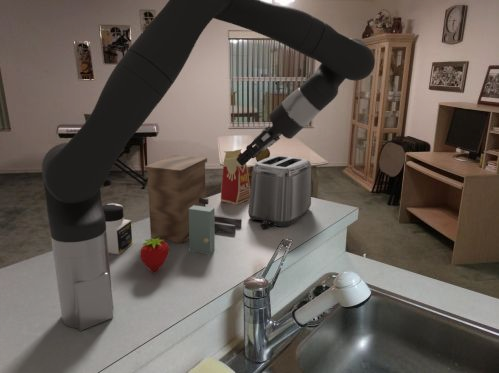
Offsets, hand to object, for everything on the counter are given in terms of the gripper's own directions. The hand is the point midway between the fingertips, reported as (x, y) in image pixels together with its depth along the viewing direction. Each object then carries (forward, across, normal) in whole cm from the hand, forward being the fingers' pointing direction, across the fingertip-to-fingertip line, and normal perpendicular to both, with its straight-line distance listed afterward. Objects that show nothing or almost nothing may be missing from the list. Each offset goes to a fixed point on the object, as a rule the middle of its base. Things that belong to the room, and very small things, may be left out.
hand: (245, 159), depth 90 cm
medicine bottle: (+43, +7, -6) cm, 44 cm away
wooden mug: (+27, -56, +10) cm, 63 cm away
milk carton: (+31, -44, +6) cm, 54 cm away
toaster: (+18, -34, +20) cm, 43 cm away
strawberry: (+31, +15, +6) cm, 35 cm away
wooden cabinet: (+31, -11, +6) cm, 34 cm away
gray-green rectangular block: (+27, 0, +10) cm, 29 cm away
